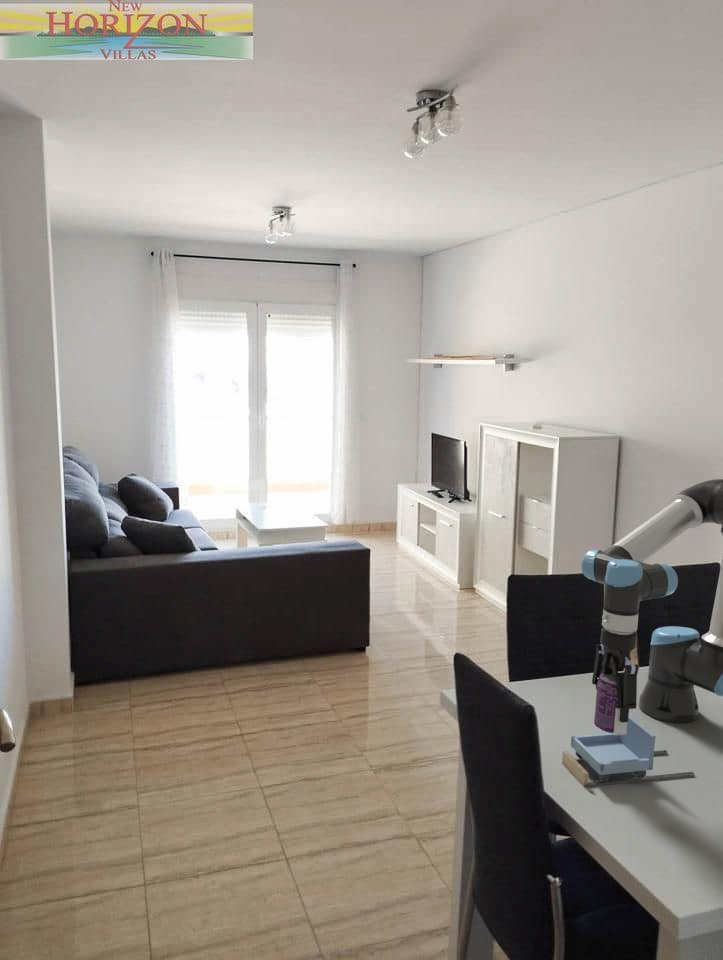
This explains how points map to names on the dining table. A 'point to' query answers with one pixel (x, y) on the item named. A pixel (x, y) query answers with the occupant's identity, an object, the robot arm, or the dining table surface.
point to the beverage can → (606, 703)
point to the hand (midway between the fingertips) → (610, 725)
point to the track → (583, 779)
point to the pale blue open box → (617, 751)
